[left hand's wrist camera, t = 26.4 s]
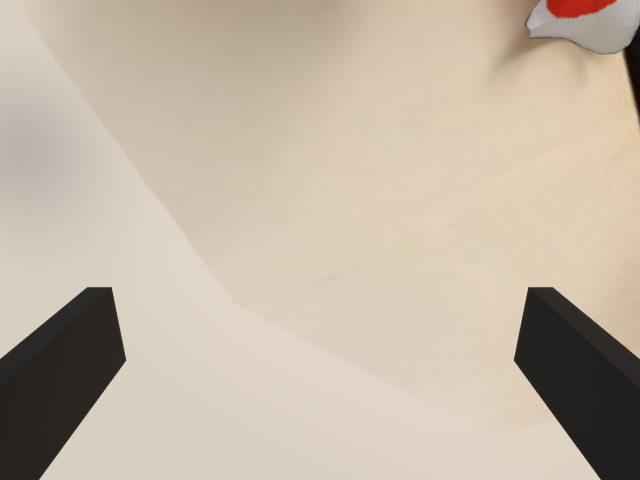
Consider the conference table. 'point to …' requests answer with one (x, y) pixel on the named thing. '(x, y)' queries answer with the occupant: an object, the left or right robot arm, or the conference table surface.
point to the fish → (587, 23)
